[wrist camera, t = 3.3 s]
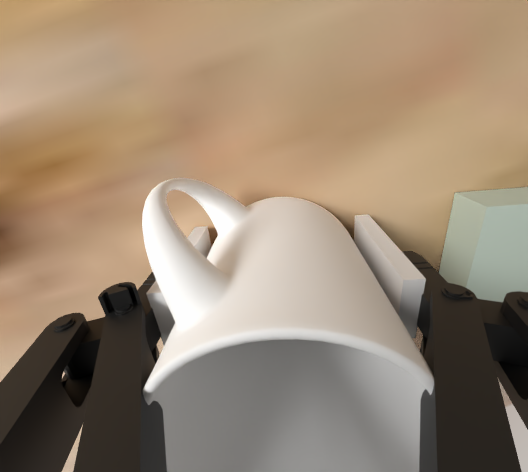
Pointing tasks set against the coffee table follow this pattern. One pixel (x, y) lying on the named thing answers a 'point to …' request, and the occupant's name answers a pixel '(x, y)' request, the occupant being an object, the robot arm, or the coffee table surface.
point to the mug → (278, 344)
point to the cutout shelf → (488, 242)
